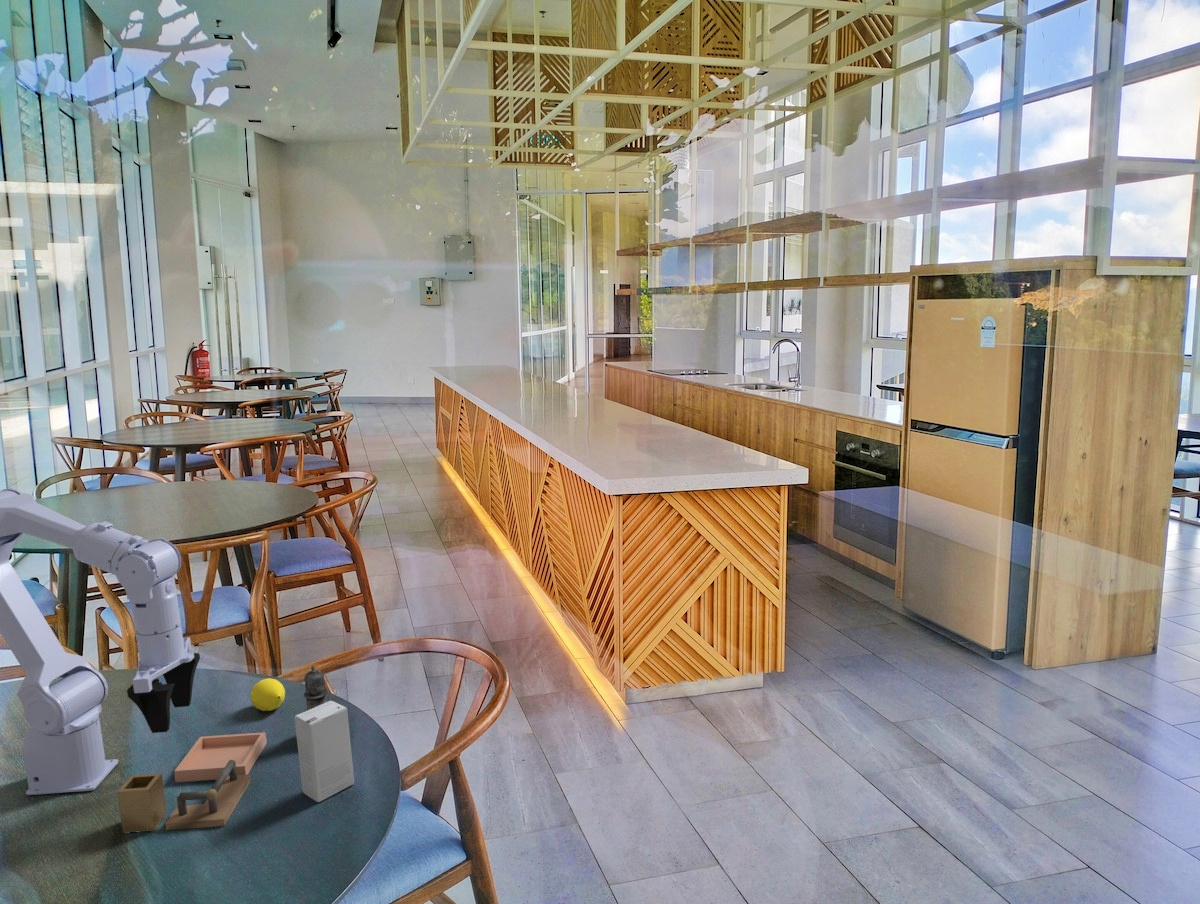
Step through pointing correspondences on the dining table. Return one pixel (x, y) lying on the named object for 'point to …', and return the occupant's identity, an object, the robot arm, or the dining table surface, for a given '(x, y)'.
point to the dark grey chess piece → (314, 689)
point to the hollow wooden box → (142, 802)
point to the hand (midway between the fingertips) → (171, 718)
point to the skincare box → (324, 750)
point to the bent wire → (210, 802)
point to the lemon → (267, 694)
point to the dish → (220, 756)
